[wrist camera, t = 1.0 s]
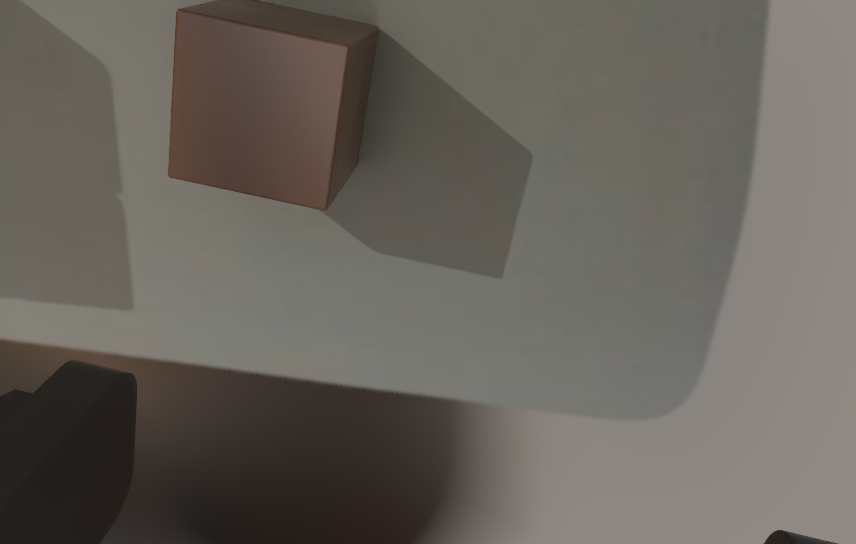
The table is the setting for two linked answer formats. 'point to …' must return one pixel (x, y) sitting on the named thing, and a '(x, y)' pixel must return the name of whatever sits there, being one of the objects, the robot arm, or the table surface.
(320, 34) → the walnut block
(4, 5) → the table surface
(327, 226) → the table surface
